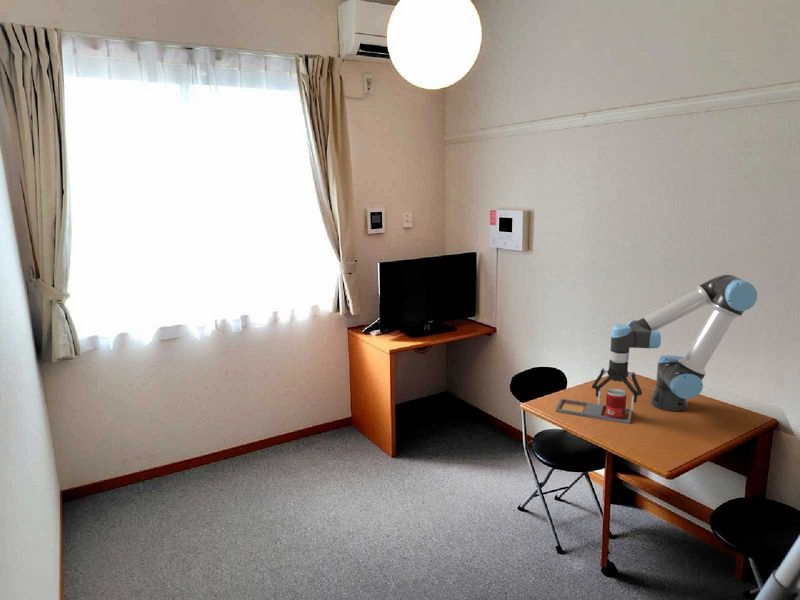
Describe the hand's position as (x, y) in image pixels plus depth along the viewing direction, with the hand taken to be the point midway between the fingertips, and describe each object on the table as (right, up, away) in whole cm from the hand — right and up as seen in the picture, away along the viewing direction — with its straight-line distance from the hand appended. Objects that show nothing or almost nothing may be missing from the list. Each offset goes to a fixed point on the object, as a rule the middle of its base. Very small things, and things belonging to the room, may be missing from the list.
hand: (615, 406), depth 241 cm
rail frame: (-8, -3, +5) cm, 10 cm away
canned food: (0, -4, +1) cm, 4 cm away
